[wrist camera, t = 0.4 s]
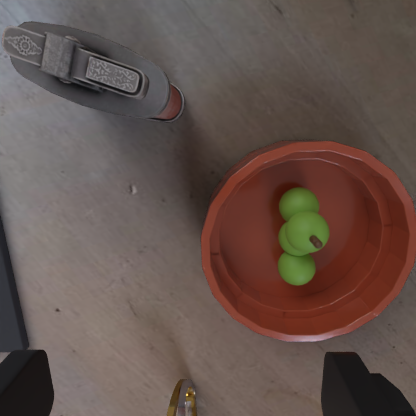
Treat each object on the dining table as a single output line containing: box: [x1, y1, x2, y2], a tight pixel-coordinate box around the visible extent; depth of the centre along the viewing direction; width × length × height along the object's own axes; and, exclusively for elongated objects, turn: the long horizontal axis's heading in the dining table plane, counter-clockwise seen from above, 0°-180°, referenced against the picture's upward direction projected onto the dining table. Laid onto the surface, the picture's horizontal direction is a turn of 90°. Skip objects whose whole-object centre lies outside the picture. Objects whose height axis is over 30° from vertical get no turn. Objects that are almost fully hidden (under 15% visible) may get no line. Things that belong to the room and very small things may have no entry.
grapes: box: [278, 187, 329, 285], centre depth 20 cm, size 8×3×6 cm, turn 2°
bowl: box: [201, 140, 416, 342], centre depth 22 cm, size 14×14×4 cm
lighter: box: [2, 21, 185, 123], centre depth 17 cm, size 8×3×10 cm, turn 72°
